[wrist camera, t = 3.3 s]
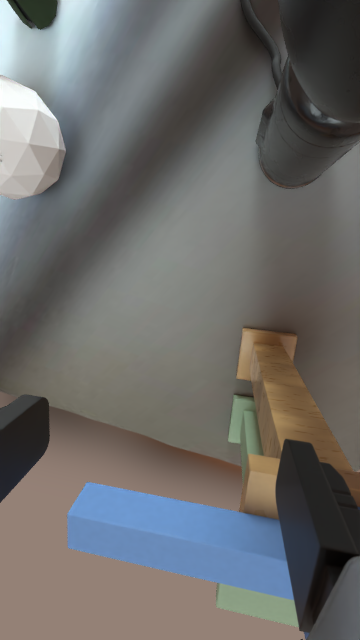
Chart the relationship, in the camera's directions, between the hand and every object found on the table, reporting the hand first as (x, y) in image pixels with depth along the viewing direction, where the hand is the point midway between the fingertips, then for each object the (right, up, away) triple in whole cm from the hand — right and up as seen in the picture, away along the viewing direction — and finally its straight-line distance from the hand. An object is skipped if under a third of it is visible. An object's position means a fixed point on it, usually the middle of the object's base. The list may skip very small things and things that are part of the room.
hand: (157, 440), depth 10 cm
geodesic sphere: (-21, +29, +36) cm, 51 cm away
